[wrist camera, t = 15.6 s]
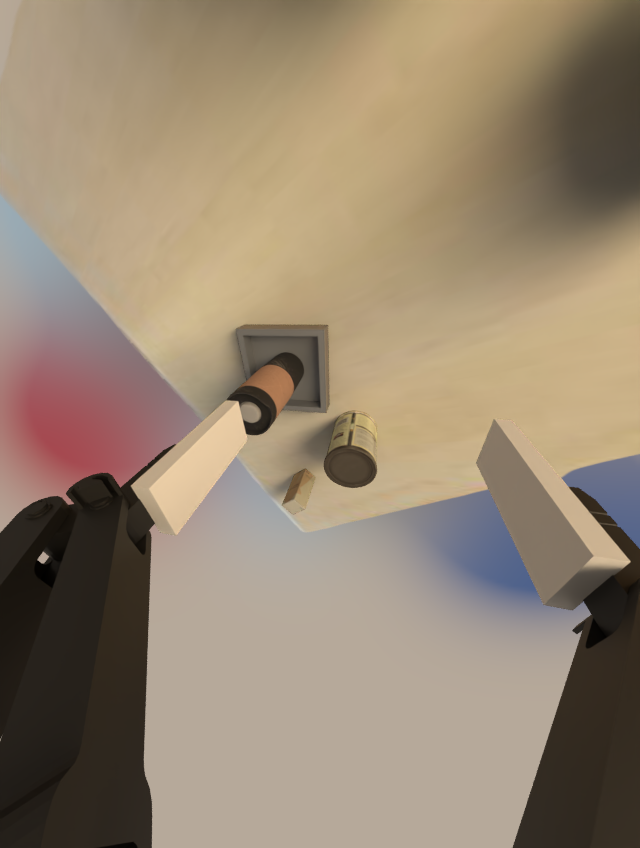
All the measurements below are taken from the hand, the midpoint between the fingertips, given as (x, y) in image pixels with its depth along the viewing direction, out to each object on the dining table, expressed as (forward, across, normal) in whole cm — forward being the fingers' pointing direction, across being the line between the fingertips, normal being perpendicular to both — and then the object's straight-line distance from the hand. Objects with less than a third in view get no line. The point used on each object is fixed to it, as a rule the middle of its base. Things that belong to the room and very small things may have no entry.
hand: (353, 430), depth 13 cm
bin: (+39, -17, -11) cm, 44 cm away
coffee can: (+39, -2, -26) cm, 47 cm away
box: (+39, -16, -44) cm, 61 cm away
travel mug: (+38, -17, -11) cm, 43 cm away
